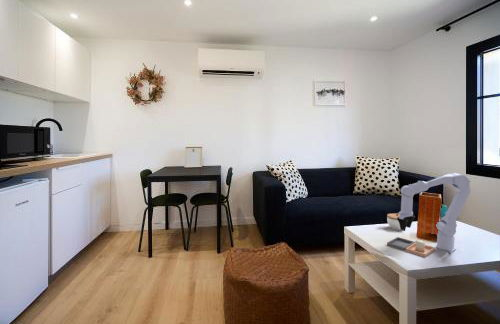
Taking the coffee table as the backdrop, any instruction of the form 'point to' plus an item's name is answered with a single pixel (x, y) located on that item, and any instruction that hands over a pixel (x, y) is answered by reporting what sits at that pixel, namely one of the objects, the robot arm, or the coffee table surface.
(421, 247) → the beige rounded cylinder
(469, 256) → the coffee table surface
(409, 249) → the tray
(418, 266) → the coffee table surface
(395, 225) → the lidded bowl
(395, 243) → the tray
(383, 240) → the coffee table surface
